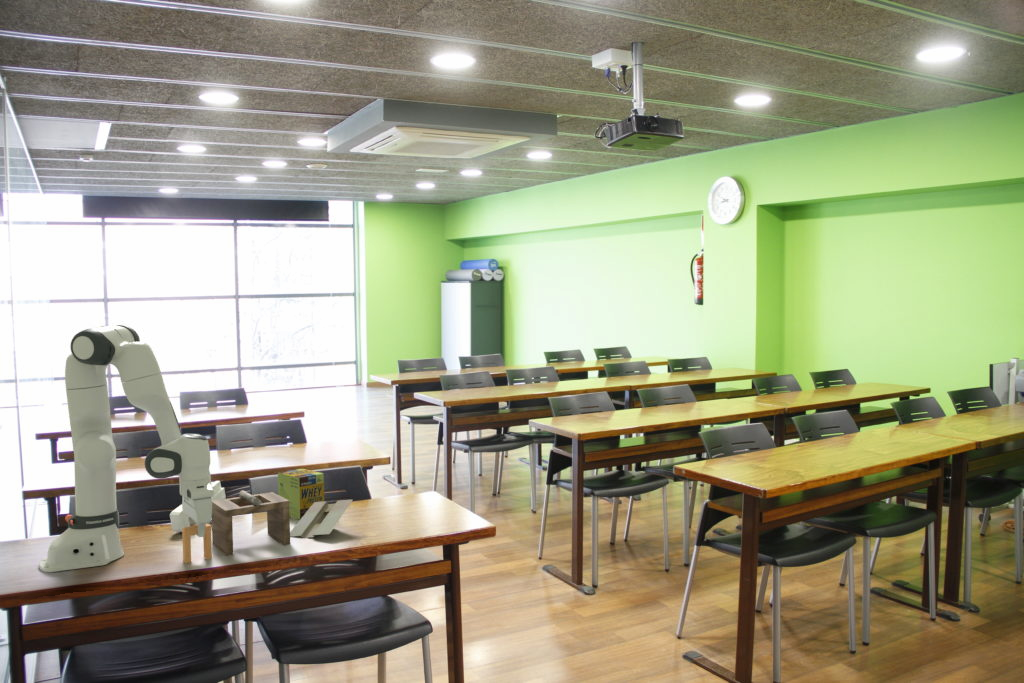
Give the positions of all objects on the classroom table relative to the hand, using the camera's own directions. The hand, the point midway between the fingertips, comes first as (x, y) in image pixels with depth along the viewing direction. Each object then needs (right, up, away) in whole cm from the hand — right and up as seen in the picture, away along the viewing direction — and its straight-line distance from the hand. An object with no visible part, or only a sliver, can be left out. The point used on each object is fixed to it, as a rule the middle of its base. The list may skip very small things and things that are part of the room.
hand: (196, 532), depth 234 cm
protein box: (+17, -6, +53) cm, 56 cm away
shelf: (+11, -7, +16) cm, 21 cm away
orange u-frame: (0, -8, 0) cm, 8 cm away
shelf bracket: (-16, -8, +41) cm, 45 cm away
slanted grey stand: (+31, -7, +27) cm, 42 cm away
